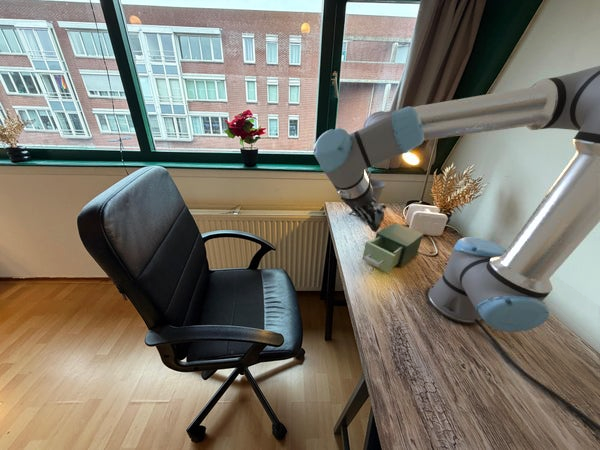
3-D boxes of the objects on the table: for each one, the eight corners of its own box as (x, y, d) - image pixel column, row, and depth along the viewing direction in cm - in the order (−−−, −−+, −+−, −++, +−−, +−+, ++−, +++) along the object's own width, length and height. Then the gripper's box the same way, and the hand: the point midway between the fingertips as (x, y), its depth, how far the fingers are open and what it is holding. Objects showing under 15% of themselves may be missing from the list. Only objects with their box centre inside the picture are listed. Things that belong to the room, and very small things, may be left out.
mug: (383, 225, 124) (395, 177, 112) (355, 224, 123) (364, 176, 111) (371, 209, 140) (381, 166, 128) (346, 209, 139) (353, 165, 127)
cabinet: (400, 267, 93) (407, 246, 89) (371, 252, 101) (376, 232, 97) (416, 253, 102) (423, 234, 98) (389, 241, 110) (394, 222, 106)
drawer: (382, 278, 86) (387, 260, 82) (355, 263, 93) (359, 245, 89) (405, 259, 97) (411, 243, 93) (380, 247, 104) (384, 231, 100)
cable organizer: (434, 227, 125) (441, 206, 119) (441, 238, 116) (449, 216, 110) (403, 223, 126) (409, 203, 121) (408, 233, 117) (415, 212, 112)
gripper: (324, 190, 61) (352, 229, 80) (368, 209, 53) (388, 247, 71) (340, 167, 62) (365, 210, 80) (386, 181, 54) (402, 226, 72)
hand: (376, 227), depth 76 cm, fingers closed
